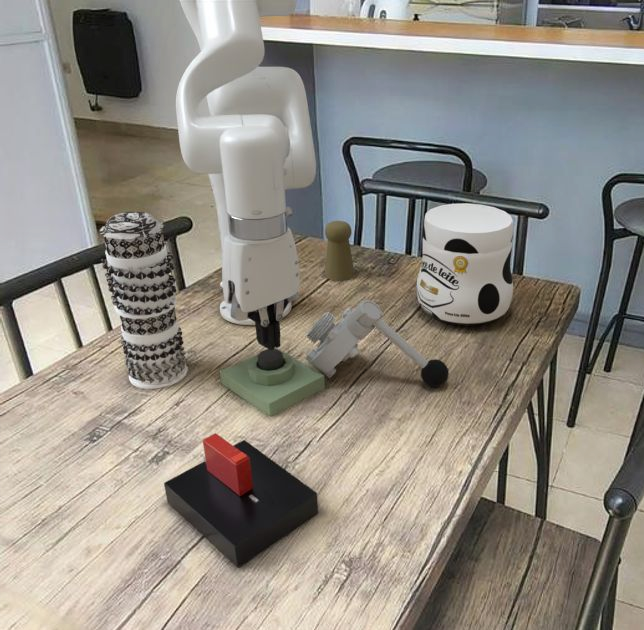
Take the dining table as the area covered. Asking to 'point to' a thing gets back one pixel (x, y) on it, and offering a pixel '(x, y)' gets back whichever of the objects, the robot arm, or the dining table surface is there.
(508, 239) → the milk container
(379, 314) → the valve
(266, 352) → the stop button
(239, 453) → the tap handle
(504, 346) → the dining table surface
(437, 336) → the dining table surface
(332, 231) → the olive brown pawn
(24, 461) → the dining table surface
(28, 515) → the dining table surface
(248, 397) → the button housing
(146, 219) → the decorative candle
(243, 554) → the base
